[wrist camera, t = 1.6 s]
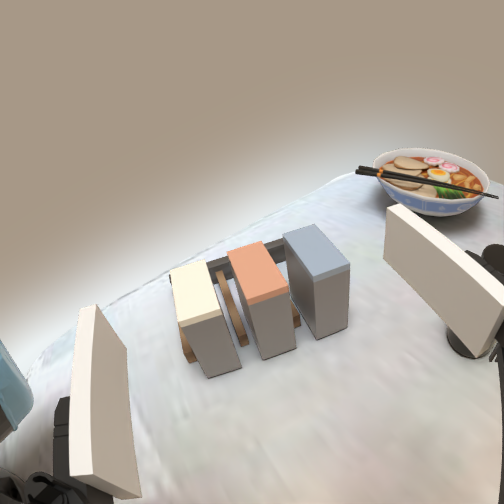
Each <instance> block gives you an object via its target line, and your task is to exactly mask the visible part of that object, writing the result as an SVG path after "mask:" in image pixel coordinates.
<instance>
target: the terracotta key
mask: <svg viewBox="0 0 504 504" xmlns="http://www.w3.org/2000/svg"><path fill="white" fill-rule="evenodd" d="M227 255H228V259H229V262H230V266H231V270H232V273H233V277H234V280H235V284H236V287H237V291H238V295H239V298H240V302H241V305H242V309H243V312H244V315H245V317H246V320H247V322H248V325H249V327H250V330H251V332H252V334H253V337H254V339H255V342H256V344H257V347H258V349H259V352H260V354H261V356H262V359H263V360H265V359H267V358H270V357H273V356H276V355H279V354H281V353H284V352H287V351H289V350H292V349H295V348H296V340H295V332H294V324H293V317H292V309H291V301H290V294H289V286H288V284H287V282H286V281H285V279H284V277H283V276H282V274H281V272H280V271H279V269H278V267H277V266H276V264H275V262H274V261H273V259H272V258H271V256H270V254H269V253H268V251H267V249H266V248H265V246H264V244H263V243H262V241H259V242H256V243H253V244H250V245H247V246H243V247H240V248H237V249H234V250H231V251H228V252H227Z"/></svg>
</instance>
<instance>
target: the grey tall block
mask: <svg viewBox="0 0 504 504" xmlns="http://www.w3.org/2000/svg"><path fill="white" fill-rule="evenodd" d="M170 275H171V282H172V288H173V295H174V301H175V307H176V313H177V319H178V323H179V325H180V327H181V329H182V331H183V333H184V335H185V337H186V339H187V341H188V343H189V345H190V347H191V348H192V350H193V352H194V354H195V356H196V358H197V360H198V362H199V363H200V365H201V367H202V369H203V371H204V373H205V374H206V376H207V378H210V377H213V376H217V375H220V374H223V373H226V372H229V371H232V370H235V369H239V368H242V367H241V364H240V361H239V358H238V355H237V353H236V350H235V347H234V344H233V341H232V338H231V335H230V332H229V329H228V326H227V323H226V320H225V317H224V314H223V312H222V309H221V306H220V303H219V300H218V297H217V294H216V291H215V288H214V285H213V283H212V280H211V277H210V274H209V271H208V268H207V265H206V262H205V259H203V260H200V261H197V262H194V263H191V264H188V265H185V266H182V267H179V268H176V269H172V270H170Z"/></svg>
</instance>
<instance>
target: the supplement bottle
mask: <svg viewBox="0 0 504 504" xmlns="http://www.w3.org/2000/svg"><path fill="white" fill-rule="evenodd" d="M481 258H482V259H484V260H485V261H486V262H487V263H488V265H489V264H490V265H491V266H492V267H493V268H494V269H495V271H498V272H499V273H500V274H501V275H502V276H503V277H504V246H503V245H499V244H491V245H488V246H487V247H486V248H485V249H484V250H483V253H482V256H481ZM447 335H448V339H449V342H450V344H451V345H452V347H453V348H454V349H455V350H456V351H457V352H458V353H460V354H462V355H464V356H466V357H471V358H476V357H475V356H474V355H473V354H472V353H471V351H470V350H469V349H468V348H467V347H466V346H465V344H464V343H463V342H462V341H461V340H460V339H459V338H458V336H457V335H456V334H455V333H454V332H453V331H452V330H451V329H450V328H449V326H448V328H447ZM496 342H497V340H496V339H495V338H494V340H493V342H492V343H491V345H490V347H489V348H488V349H487V350H486V351H485V352H483V353H482V354H481V355H480V356H478V357H481V356H484V355H486V354H487V353H488V352H489V351H490V350H491V349H492V348H493V346H494V345H495V343H496Z"/></svg>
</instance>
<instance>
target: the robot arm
mask: <svg viewBox="0 0 504 504" xmlns="http://www.w3.org/2000/svg"><path fill="white" fill-rule="evenodd" d="M383 259H384V260H385V261H386V262H387V263H388V264H389V265H390V266H391V267H392V268H393V269H394V270H395V271H396V272H397V273H398V274H399V275H400V276H401V277H402V278H403V279H404V280H405V281H406V282H407V283H408V284H409V285H410V286H411V287H412V288H413V289H414V290H415V291H416V292H417V293H418V294H419V295H420V296H421V297H422V299H423V300H424V301H425V302H426V303H427V304H428V305H429V306H430V307H431V308H432V309H433V310H434V311H435V312H436V313H437V314H438V316H439V317H440V318H441V319H442V320H443V321H444V322H445V323H446V324H447V325H448V326H449V328H450V329H451V330H452V331H453V332H454V333H455V334H456V335H457V336H458V338H459V339H460V340H461V341H462V342H463V343H464V344H465V346H466V347H467V348H468V349H469V350H470V351H471V353H472V354H473V355H474V356H475V357H476V358H477V357H478V356H480V355H481V354H482V353H483V352H485V351H486V350H487V349H488V348H489V347H490V345H491V343H492V342H493V340H494V338H495V339H496V340H497V341H498V343H497V345H496V347H495V348H494V350H493V352H492V353H491V355H490V357H489V362H492V360H493V359H494V357H495V355H496V354H497V357H496V359H495V362H498V368H499V378H500V389H501V403H502V469H501V483H500V493H499V502H498V504H504V277H503V276H502V275H501V274H500V273H499V272H498V271H495V269H494V268H493V267H492V266H491V265H490V264H489V265H488V263H487V262H486V261H485V260H484V259H482V258H481V257H480V256H479V255H477V254H475V253H473V252H470V251H468V250H466V251H463V250H462V249H460V248H459V247H458V246H457V245H455V244H454V243H453V242H452V241H450V240H449V239H448V238H447V237H445V236H444V235H443V234H441V233H440V232H439V231H437V230H436V229H435V228H433V227H432V226H431V225H430V224H428V223H427V222H425V221H424V220H423V219H421V218H420V217H419V216H417V215H416V214H415V213H413V212H412V211H410V210H409V209H408V208H406V207H405V206H403V205H402V204H401V203H399V204H396V205H393V206H390V207H387V212H386V229H385V243H384V255H383ZM33 402H34V400H33V394H32V391H31V389H30V386H29V385H28V383H27V381H26V380H25V378H24V376H23V375H22V374H21V372H20V370H19V368H18V367H17V365H16V364H15V362H14V360H13V359H12V357H11V356H10V354H9V353H8V351H7V349H6V348H5V346H4V345H3V343H2V341H1V340H0V443H1V442H2V441H3V440H4V439H5V438H6V437H7V436H8V435H9V434H10V433H11V432H12V431H16V430H17V428H18V424H19V423H20V422H21V421H22V420H23V419H24V418H25V416H26V415H27V414H28V413H29V412H30V411H31V409H32V407H33ZM54 426H55V428H54V439H53V476H51V475H49V474H47V473H44V472H35V473H34V474H32V475H31V476H30V477H29V478H28V480H27V481H26V484H25V483H24V482H23V481H22V480H21V479H20V478H19V477H17V476H16V475H14V474H12V473H10V472H9V471H7V470H5V469H3V468H1V467H0V504H114V502H113V496H114V497H116V498H119V499H121V500H125V499H134V498H142V494H141V488H140V482H139V476H138V470H137V463H136V456H135V449H134V441H133V432H132V423H131V413H130V401H129V388H128V371H127V348H126V347H125V346H124V344H123V343H122V341H121V340H120V339H119V337H118V336H117V334H116V333H115V331H114V330H113V328H112V327H111V325H110V324H109V322H108V321H107V319H106V318H105V316H104V315H103V313H102V312H101V310H100V309H99V307H98V306H97V304H94V305H91V306H88V307H85V308H82V309H80V311H79V317H78V324H77V331H76V339H75V347H74V356H73V366H72V377H71V391H70V396H69V397H64V398H60V400H59V402H58V405H57V407H56V410H55V414H54Z"/></svg>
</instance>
